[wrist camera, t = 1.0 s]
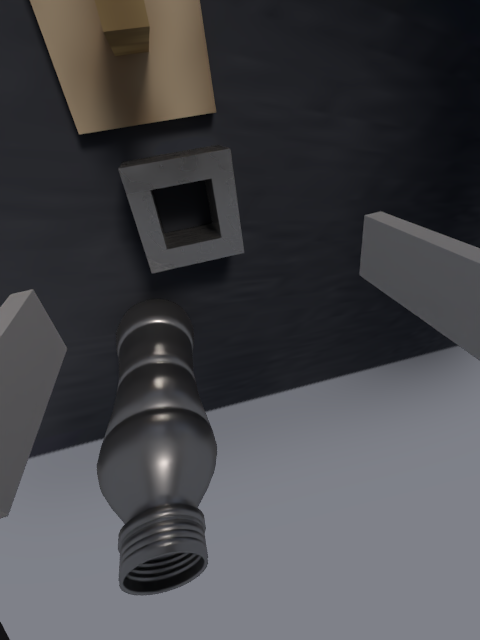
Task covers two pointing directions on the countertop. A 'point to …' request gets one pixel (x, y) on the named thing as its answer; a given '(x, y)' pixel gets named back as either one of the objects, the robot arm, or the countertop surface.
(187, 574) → the plastic bottle
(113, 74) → the tan square plate
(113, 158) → the countertop surface
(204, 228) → the grey square frame
